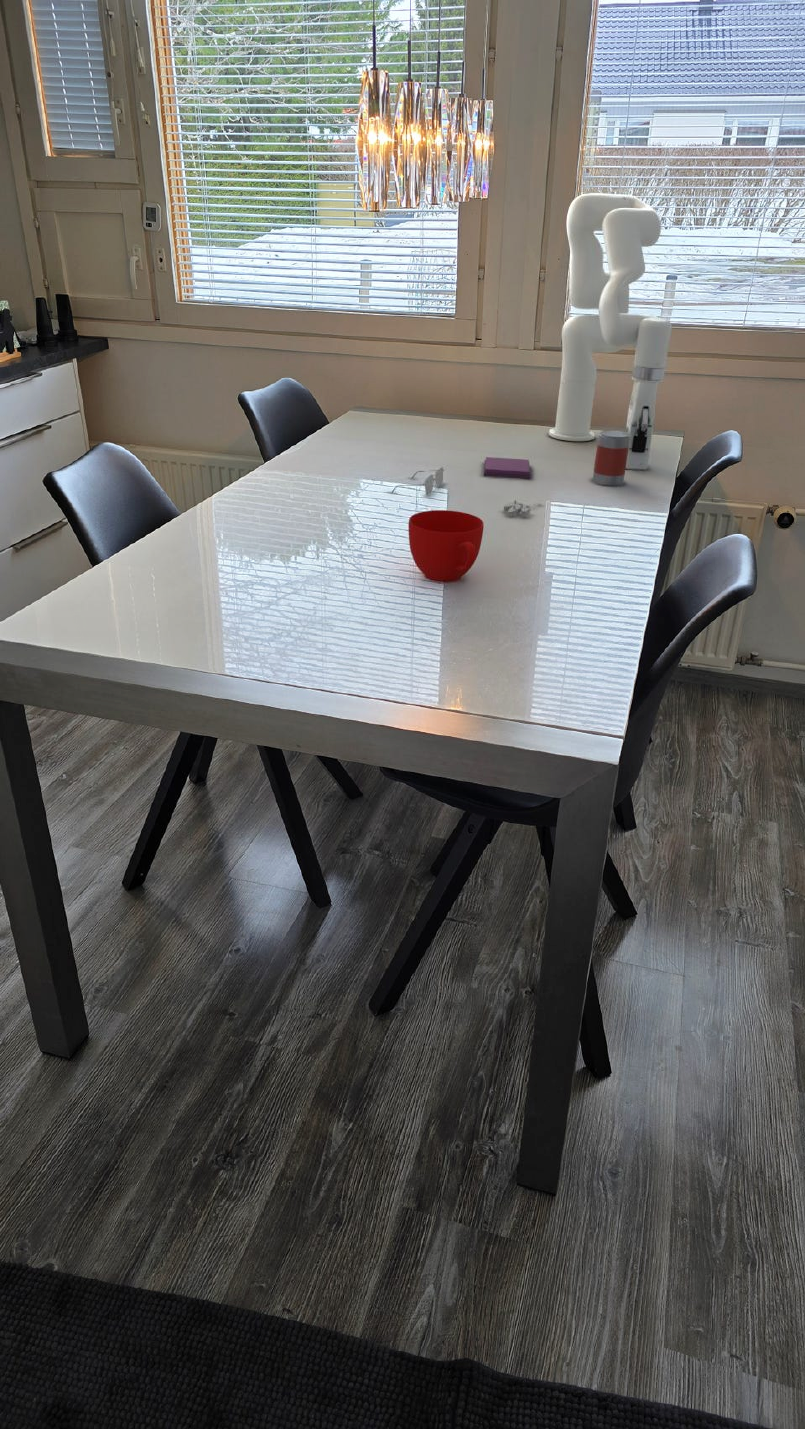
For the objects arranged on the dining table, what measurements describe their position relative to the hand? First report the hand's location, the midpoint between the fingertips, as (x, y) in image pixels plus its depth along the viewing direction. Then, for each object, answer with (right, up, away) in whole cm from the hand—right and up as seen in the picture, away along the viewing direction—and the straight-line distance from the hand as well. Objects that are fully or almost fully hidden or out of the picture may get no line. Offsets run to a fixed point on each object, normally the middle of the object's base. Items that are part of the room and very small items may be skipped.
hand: (636, 448), depth 249 cm
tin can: (-9, -11, -12) cm, 19 cm away
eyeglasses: (-55, -15, -23) cm, 61 cm away
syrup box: (0, -4, +2) cm, 5 cm away
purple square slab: (-33, -7, -7) cm, 35 cm away
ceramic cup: (-50, -43, -74) cm, 99 cm away
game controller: (-32, -23, -36) cm, 53 cm away
